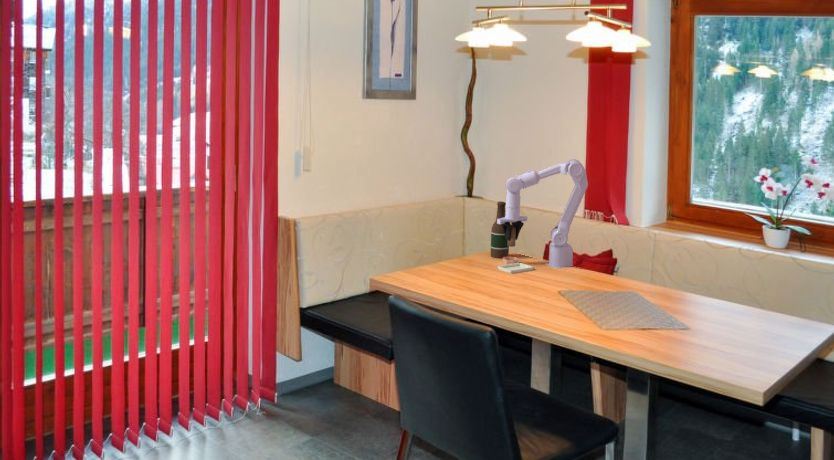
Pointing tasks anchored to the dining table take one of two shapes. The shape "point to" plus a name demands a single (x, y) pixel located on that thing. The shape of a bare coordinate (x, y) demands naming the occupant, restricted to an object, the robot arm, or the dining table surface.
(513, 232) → the peg
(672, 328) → the dining table surface
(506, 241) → the beer bottle
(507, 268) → the tray
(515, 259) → the holder
